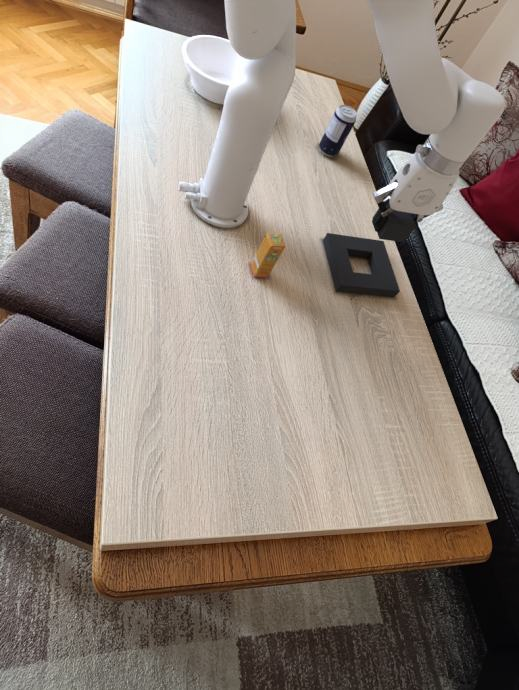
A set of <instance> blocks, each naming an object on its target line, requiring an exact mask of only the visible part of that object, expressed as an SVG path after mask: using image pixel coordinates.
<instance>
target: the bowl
mask: <svg viewBox="0 0 519 690" xmlns="http://www.w3.org/2000/svg"><path fill="white" fill-rule="evenodd" d="M181 52H182V56H183V62H184V65H185V69H186V70H187V72H188V74H189V75H190V82H191V86H192V88H193V89H194V90H195V92H196V93H197V94H198V95H199V96H201V97H202V98H203V99H205V100H207V101H210V102H212V103H214V104H218V105H223V106H224V101H225V96H226V93H227V90H228V88H229V85H230V83H231V81H232V79H233V78H234V76H235V74H236V73H237V71H238V69H239V68H240V66H241V65H242V64H243V62H244V60H245V58H243V57H241V56H240V55H239V54H238V53H236V52H235V50H234V49H233V47H232V46H231V43H230V41H229V39H228V38H224V37H220V36H216V35H209V34H207V35H206V34H198V35H193V36H191V37H189V38H187V39H186V40H185V41H184V42H183V45H181Z"/></svg>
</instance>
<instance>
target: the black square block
mask: <svg viewBox="0 0 519 690" xmlns="http://www.w3.org/2000/svg"><path fill="white" fill-rule="evenodd" d="M389 206H390V204H388V205H387V206H386V208H387V207H389ZM378 210H379V208H378V209H377V210H376V211H375V213H374V215H373V216H372V218H373V217H374V216H375V215H376V213H377V212H378ZM387 217H388V219H387V221H386V222H385V224H384V225H383V226H382V228H381V229H380V231H379V232H376V234H377V237H378V240H382V241H384V240H385V241H391V242H398V243H399V242H400V243H405V241H406V240H408V238H409V237H410V235H411V234H412V233H413V232H414V230H415V229H416V228H417V226H416V224H415V223H414V220H413V218H412V215H411V213H407V212H402V211H396V210H394V211H392V212H391V213H390V214H389V215H388V216H387Z"/></svg>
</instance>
